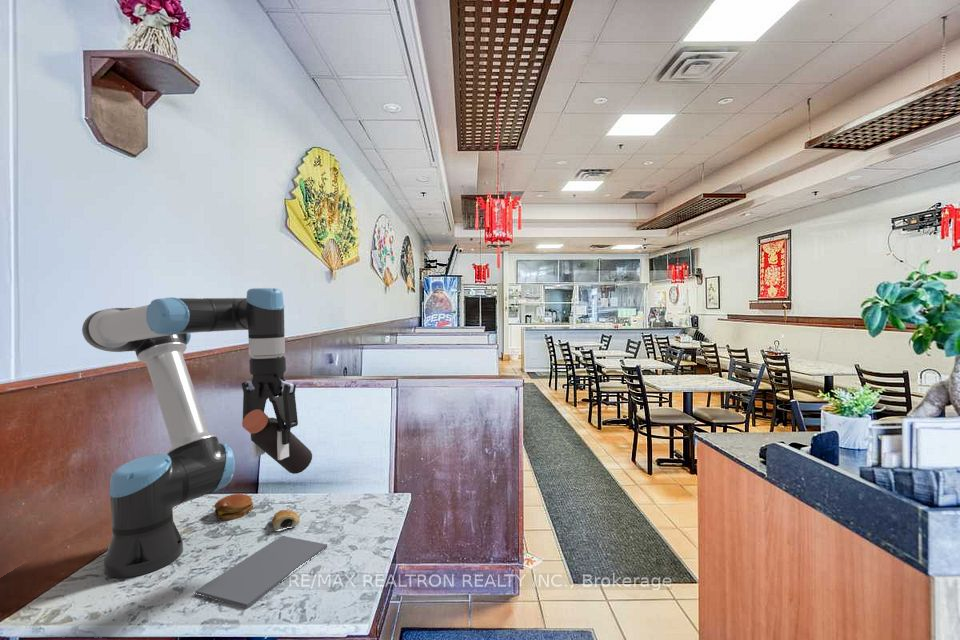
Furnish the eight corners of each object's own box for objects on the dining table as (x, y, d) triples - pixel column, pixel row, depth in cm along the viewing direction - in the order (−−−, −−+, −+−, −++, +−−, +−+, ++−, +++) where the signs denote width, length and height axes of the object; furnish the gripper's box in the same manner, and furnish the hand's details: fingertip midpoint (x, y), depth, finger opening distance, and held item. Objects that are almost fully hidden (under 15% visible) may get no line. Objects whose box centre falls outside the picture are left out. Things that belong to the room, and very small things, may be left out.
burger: (255, 504, 140) (254, 489, 140) (249, 517, 131) (248, 501, 131) (219, 509, 138) (218, 493, 137) (210, 523, 129) (209, 506, 128)
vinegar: (285, 477, 113) (234, 435, 99) (290, 452, 118) (242, 409, 104) (310, 470, 112) (263, 428, 99) (314, 446, 117) (269, 402, 104)
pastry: (270, 520, 130) (269, 506, 130) (295, 514, 133) (295, 501, 133) (273, 534, 122) (273, 519, 121) (301, 527, 125) (300, 513, 125)
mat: (195, 594, 96) (195, 590, 96) (282, 538, 119) (281, 535, 119) (247, 608, 91) (247, 604, 91) (327, 547, 114) (327, 544, 114)
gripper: (313, 355, 106) (316, 455, 107) (248, 353, 113) (251, 448, 113) (289, 359, 99) (293, 466, 100) (221, 357, 106) (225, 457, 106)
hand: (271, 456), depth 106 cm, fingers closed on vinegar, 6 cm apart
